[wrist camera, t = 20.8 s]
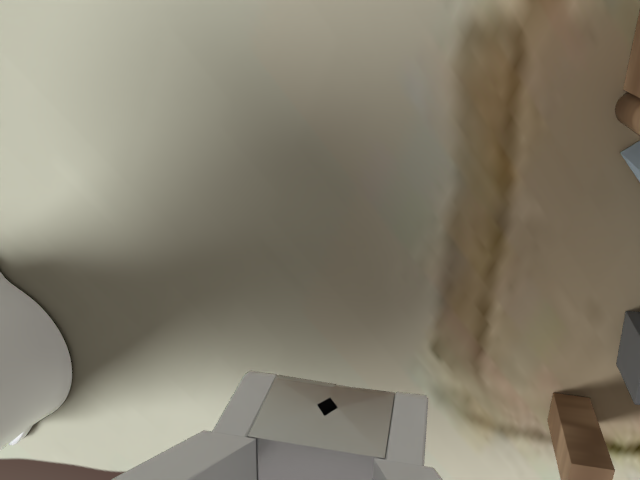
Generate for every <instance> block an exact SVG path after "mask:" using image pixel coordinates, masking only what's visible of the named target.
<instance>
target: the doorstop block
mask: <svg viewBox="0 0 640 480" xmlns="http://www.w3.org/2000/svg"><path fill="white" fill-rule="evenodd" d="M616 364H617V367H618V369H619V371H620V373H621V375H622V378H623V380H624V382H625V384H626V386H627V389H628V391H629V393H630V395H631V398H632V400H633V402H634V404H636V405H640V312H632V311H626V312H625V318H624V324H623V329H622V335H621V340H620V346H619V351H618V357H617V363H616Z"/></svg>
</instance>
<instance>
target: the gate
mask: <svg viewBox="0 0 640 480" xmlns="http://www.w3.org/2000/svg"><path fill="white" fill-rule="evenodd" d="M620 153H621V155H622V156H623V158H624V159H625V161H626V162H627V164H628V165H629V167H630V168H631V170H632V171H633V173H634V174H635V176H636V177H637V179H638V180H639V182H640V141H638V142H637V143H635V144H633V145H632V146H630V147H629V148H627V149H625V150H624V151H622V152H620Z"/></svg>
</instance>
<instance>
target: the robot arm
mask: <svg viewBox="0 0 640 480" xmlns="http://www.w3.org/2000/svg"><path fill="white" fill-rule="evenodd" d="M71 382H72V365H71V359H70V355H69V351H68V348H67V346H66V343H65V341H64V339H63V337H62V335H61V333H60V331H59V329H58V328H57V326H56V325H55V323H54V322H53V321H52V319H51V318H50V317H49V315H48V314H47V313H46V312H45V311H44V310H43V309H42V308H41V307H40V306H39V305H38V304H37V303H36V302H35V301H34V300H33V299H32V298H30V297H29V296H28V295H26V294H25V293H24V292H22V291H21V290H19V289H18V288H17V287H15V286H14V285H13V284H11V283H10V282H9V281H8V280H7V279H6V278H5V277H4V276H3V275H2V273H1V272H0V451H1V450H2V449H3V448H4V447H6V446H7V445H14V444H16V443H18V442H19V441H20V440H21V439H23V438H24V437H25V436H26V435H27V434H28V432H29V431H30V429H31V427H32V426H33V425H34V424H35V423H37V422H38V421H40V420H41V419H43V418H44V417H46V416H48V415H49V414H51V413H53V412H54V411H56V410H57V409H58V408H59V407H60V406H61V405H62V404H63V402H64V401H65V399H66V397H67V395H68V393H69V390H70V387H71ZM427 410H428V398H427V396H426V395H420V394H411V393H402V392H396V394H395V393H394V392H386V391H379V390H371V389H364V388H356V387H349V386H341V385H336V384H332V383H326V382H319V381H313V380H307V379H301V378H295V377H289V376H283V375H278V376H277V375H276V374H269V373H262V372H255V371H249V372H247V373H246V374H245V375H244V376H243V378H242V380H241V381H240V383H239V385H238V387H237V388H236V390H235V392H234V394H233V396H232V397H231V399H230V401H229V403H228V404H227V406H226V408H225V410H224V411H223V413H222V415H221V417H220V419H219V420H218V422H217V424H216V426H215V427H214V429H213V431H212V432H211V431H204V430H203V431H202V432H200V433H198V434H196V435H194V436H192V437H190V438H188V439H187V440H185V441H183V442H181V443H179V444H177V445H175V446H173V447H172V448H170V449H168V450H166V451H164V452H162V453H160V454H158V455H157V456H155V457H153V458H151V459H149V460H147V461H145V462H143V463H142V464H140V465H138V466H136V467H134V468H132V469H130V470H128V471H127V472H125V473H123V474H121V475H119V476H117V477H116V478H114V479H112V480H442V478H441V477H440V476H439V474H438V473H437V472H436V470H435V469H434V468H432V467H426V466H424V458H425V442H426V426H427Z"/></svg>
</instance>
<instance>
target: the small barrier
mask: <svg viewBox="0 0 640 480" xmlns="http://www.w3.org/2000/svg"><path fill="white" fill-rule="evenodd" d="M623 90H625V91H627V92H628V93H626V94H624V95H623V96H622V97H621V98H620V99H619V100H618V102H617V104H616V108H615V113H616V117H617V119H618V120H619V121H620V122H621V123H623V124H624V125H625V126H627V127H628V128H630V129H631V130H632V131H634V132H635V133H637V134H638V135H639V136H640V11H639V16H638V21H637V25H636V30H635V35H634V40H633V44H632V49H631V54H630V59H629V64H628V68H627V73H626V78H625V83H624V87H623ZM548 425H549V429H550V434H551V438H552V442H553V447H554V451H555V456H556V460H557V464H558V469H559V473H560V478H561V480H612V479H613V475H614V472H615V469H614V467H613V464H612V461H611V458H610V455H609V452H608V449H607V446H606V444H605V441H604V438H603V435H602V432H601V429H600V426H599V423H598V420H597V418H596V415H595V412H594V409H593V406H592V403H591V400H590V398H588V397H581V396H573V395H566V394H559V393H553V396H552V401H551V406H550V411H549V416H548Z"/></svg>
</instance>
